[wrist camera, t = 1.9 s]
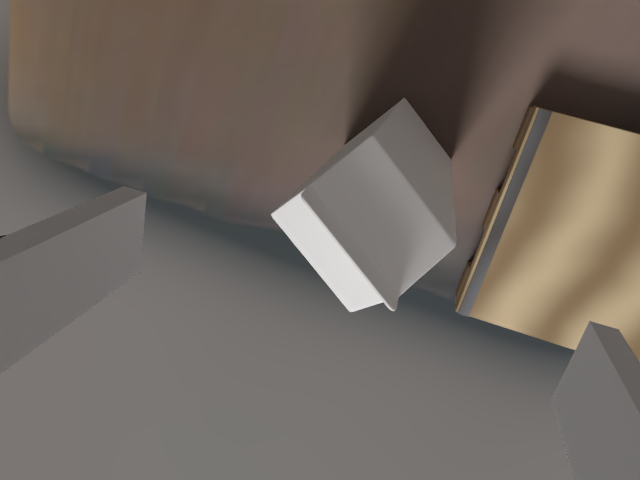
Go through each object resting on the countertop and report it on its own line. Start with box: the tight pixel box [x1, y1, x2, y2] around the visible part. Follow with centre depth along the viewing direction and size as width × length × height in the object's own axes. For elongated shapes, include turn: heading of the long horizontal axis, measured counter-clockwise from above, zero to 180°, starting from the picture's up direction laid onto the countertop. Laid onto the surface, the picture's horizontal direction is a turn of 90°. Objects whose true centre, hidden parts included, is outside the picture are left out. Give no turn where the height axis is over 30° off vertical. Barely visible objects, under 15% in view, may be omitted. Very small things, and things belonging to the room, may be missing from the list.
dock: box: [455, 106, 640, 362], centre depth 37 cm, size 16×16×3 cm
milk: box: [271, 98, 456, 312], centre depth 30 cm, size 6×6×22 cm
